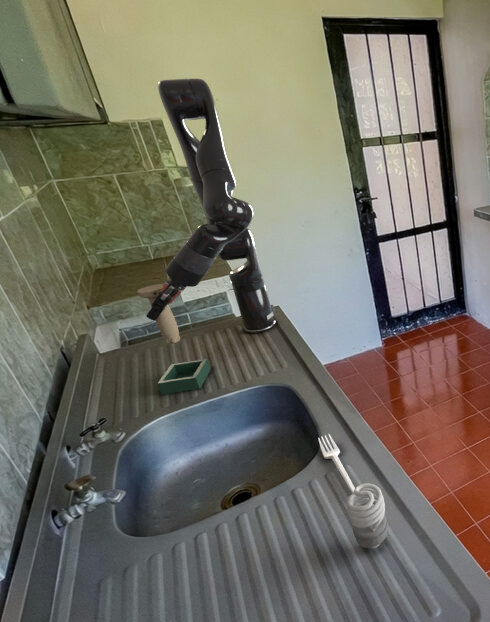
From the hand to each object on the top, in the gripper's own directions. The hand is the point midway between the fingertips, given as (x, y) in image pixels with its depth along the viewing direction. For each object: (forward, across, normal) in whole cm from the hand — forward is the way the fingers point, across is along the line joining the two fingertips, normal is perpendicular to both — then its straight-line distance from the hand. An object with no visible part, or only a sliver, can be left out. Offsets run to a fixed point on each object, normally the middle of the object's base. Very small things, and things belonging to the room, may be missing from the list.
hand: (154, 314), depth 114 cm
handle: (+4, 0, +7) cm, 8 cm away
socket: (+13, 0, +16) cm, 20 cm away
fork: (-16, +46, +46) cm, 67 cm away
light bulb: (-20, +66, +50) cm, 85 cm away
